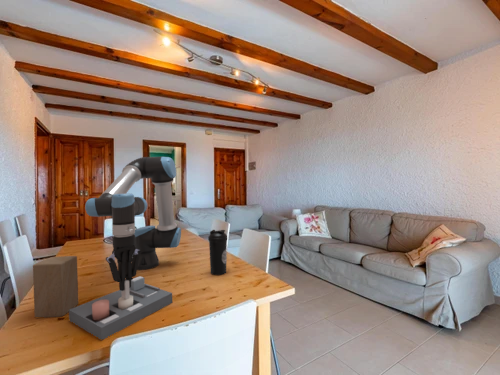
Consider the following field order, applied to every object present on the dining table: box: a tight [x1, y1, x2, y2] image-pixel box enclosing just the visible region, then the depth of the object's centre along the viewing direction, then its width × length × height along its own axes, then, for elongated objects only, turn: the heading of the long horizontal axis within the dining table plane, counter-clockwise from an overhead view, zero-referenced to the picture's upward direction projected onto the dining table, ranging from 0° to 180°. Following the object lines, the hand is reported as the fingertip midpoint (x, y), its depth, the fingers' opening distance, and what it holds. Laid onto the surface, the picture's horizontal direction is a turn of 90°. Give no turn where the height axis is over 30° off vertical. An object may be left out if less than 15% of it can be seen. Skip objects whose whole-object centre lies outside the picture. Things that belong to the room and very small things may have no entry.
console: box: [68, 283, 173, 341], centre depth 95 cm, size 22×28×5 cm
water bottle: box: [208, 229, 228, 276], centre depth 134 cm, size 10×10×23 cm
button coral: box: [92, 299, 109, 321], centre depth 85 cm, size 5×5×5 cm
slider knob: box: [130, 275, 146, 291], centre depth 106 cm, size 3×5×4 cm, turn 148°
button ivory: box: [118, 295, 133, 310], centre depth 93 cm, size 5×5×5 cm
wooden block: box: [32, 255, 79, 318], centre depth 96 cm, size 10×10×20 cm
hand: (125, 297), depth 93 cm, fingers closed
